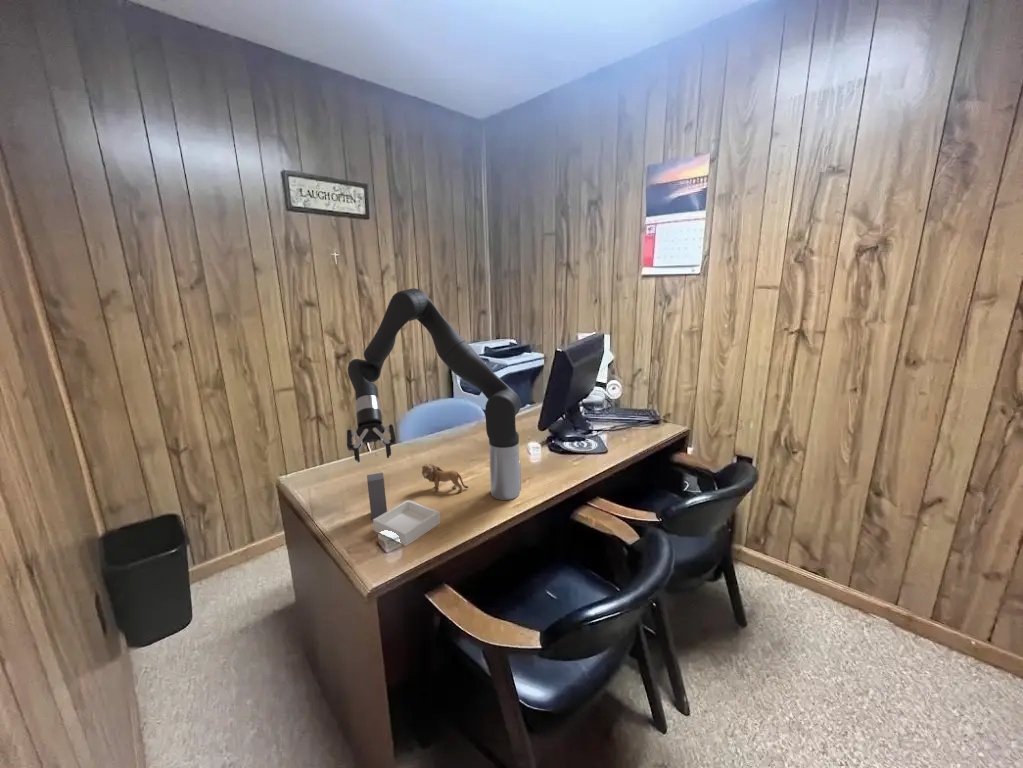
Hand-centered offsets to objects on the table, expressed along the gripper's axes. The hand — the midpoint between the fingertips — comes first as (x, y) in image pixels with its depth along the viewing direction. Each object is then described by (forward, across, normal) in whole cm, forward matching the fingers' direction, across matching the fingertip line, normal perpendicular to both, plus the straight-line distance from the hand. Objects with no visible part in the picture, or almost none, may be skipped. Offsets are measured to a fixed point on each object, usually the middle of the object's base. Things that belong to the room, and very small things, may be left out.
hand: (373, 459), depth 128 cm
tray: (+23, +7, -4) cm, 24 cm away
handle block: (+16, 0, +3) cm, 16 cm away
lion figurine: (+11, +21, +9) cm, 25 cm away
